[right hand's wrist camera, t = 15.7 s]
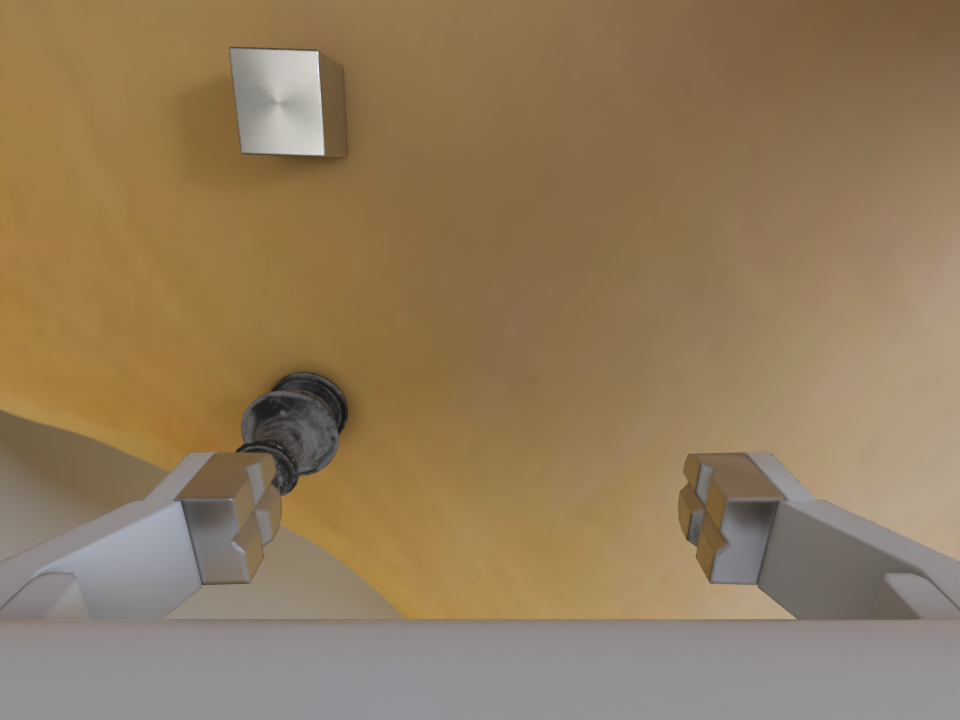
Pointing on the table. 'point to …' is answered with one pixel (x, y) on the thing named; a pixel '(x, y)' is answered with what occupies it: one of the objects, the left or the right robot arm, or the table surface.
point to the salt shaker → (295, 426)
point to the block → (289, 102)
